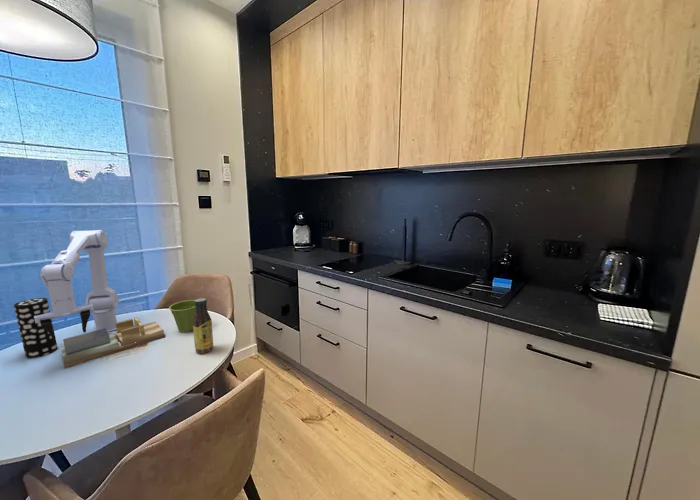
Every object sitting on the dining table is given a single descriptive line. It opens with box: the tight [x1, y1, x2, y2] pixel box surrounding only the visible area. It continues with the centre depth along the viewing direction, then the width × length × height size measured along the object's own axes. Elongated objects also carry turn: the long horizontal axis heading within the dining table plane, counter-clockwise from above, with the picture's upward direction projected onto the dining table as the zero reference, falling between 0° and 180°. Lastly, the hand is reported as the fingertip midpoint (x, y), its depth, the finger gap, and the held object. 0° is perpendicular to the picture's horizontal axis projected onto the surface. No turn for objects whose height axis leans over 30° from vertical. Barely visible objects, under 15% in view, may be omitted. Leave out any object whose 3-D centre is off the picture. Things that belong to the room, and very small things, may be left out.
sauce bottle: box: [192, 297, 214, 354], centre depth 108 cm, size 6×6×20 cm
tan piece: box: [60, 317, 166, 369], centre depth 114 cm, size 14×30×7 cm, turn 137°
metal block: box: [62, 328, 110, 355], centre depth 108 cm, size 8×12×3 cm, turn 137°
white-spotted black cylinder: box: [13, 297, 58, 359], centre depth 108 cm, size 8×8×20 cm
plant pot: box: [168, 299, 196, 333], centre depth 127 cm, size 12×12×11 cm
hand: (69, 335), depth 102 cm, fingers open, 7 cm apart
